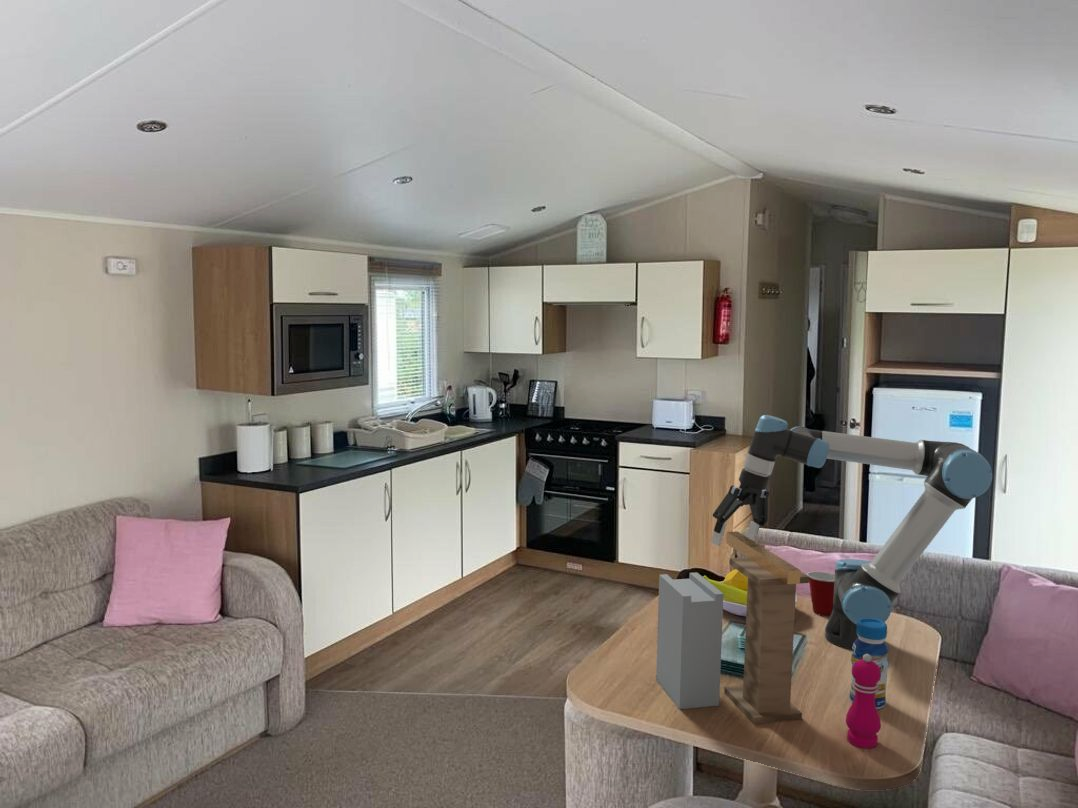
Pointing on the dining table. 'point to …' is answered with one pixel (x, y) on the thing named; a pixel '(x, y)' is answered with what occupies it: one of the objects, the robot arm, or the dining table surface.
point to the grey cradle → (689, 640)
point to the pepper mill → (864, 704)
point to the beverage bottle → (872, 653)
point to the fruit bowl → (733, 592)
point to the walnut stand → (767, 646)
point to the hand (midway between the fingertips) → (731, 544)
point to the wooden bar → (764, 558)
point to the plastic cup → (822, 592)
